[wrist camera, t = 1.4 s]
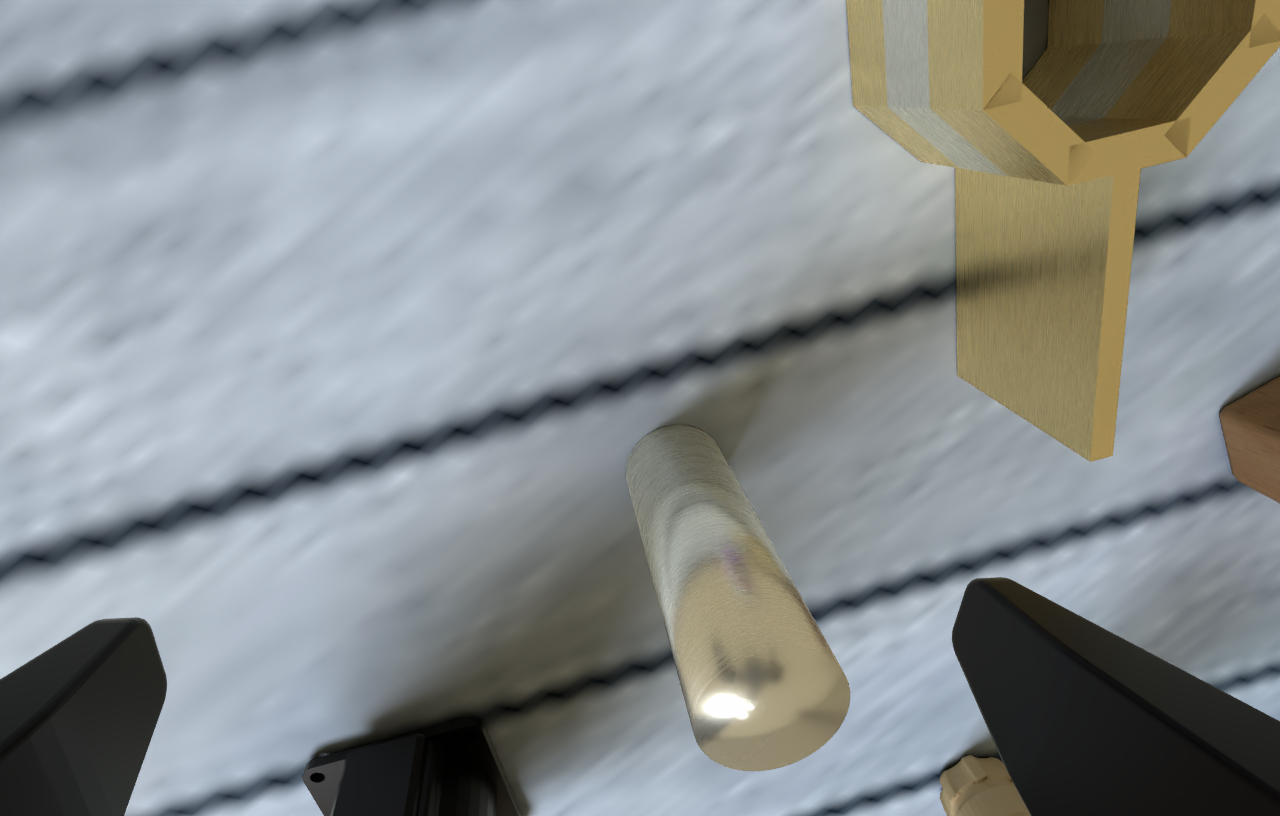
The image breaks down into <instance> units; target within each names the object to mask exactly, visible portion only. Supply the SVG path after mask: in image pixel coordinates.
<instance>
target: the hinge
mask: <svg viewBox="0 0 1280 816" xmlns="http://www.w3.org/2000/svg"><path fill="white" fill-rule="evenodd" d="M846 6H847V21H848V36H849V50H850V65H851V80H852V95H853V106H854V107H855V108H856V109H857V110H859V111H860V112H861V113H862V114H864V115H865V116H866V117H867V118H868V119H870V120H871V121H872V122H873V123H874V124H876V125H877V126H878V127H879V128H881V129H882V130H883V131H884V132H885V133H887V134H888V135H889V136H890V137H891V138H893V139H894V140H895V141H896V142H898V143H899V144H900V145H901V146H902V147H904V148H905V149H906V150H907V151H908V152H910V153H911V154H912V155H913V156H915V157H916V158H917V159H918V160H919V161H921V162H925V163H931V164H937V165H943V166H949V167H955V203H956V300H957V376H958V377H960V378H962V379H963V380H965V381H966V382H968V383H969V384H971V385H972V386H974V387H975V388H977V389H979V390H980V391H982V392H983V393H985V394H986V395H988V396H989V397H991V398H992V399H994V400H996V401H997V402H999V403H1000V404H1002V405H1003V406H1005V407H1006V408H1008V409H1009V410H1011V411H1013V412H1014V413H1016V414H1017V415H1019V416H1020V417H1022V418H1023V419H1025V420H1027V421H1028V422H1030V423H1031V424H1033V425H1034V426H1036V427H1037V428H1039V429H1040V430H1042V431H1044V432H1045V433H1047V434H1048V435H1050V436H1051V437H1053V438H1054V439H1056V440H1057V441H1059V442H1061V443H1062V444H1064V445H1065V446H1067V447H1068V448H1070V449H1071V450H1073V451H1074V452H1076V453H1078V454H1079V455H1081V456H1082V457H1084V458H1085V459H1087V460H1088V461H1090V462H1091V461H1095V460H1099V459H1102V458H1106V457H1110V456H1113V447H1114V437H1115V427H1116V417H1117V406H1118V396H1119V386H1120V376H1121V365H1122V355H1123V345H1124V335H1125V324H1126V314H1127V304H1128V294H1129V283H1130V273H1131V263H1132V253H1133V242H1134V232H1135V222H1136V211H1137V201H1138V191H1139V181H1140V170H1141V168H1145V167H1149V166H1153V165H1157V164H1162V163H1166V162H1170V161H1174V160H1178V159H1182V158H1186V157H1187V156H1188V155H1189V154H1190V153H1191V151H1192V150H1193V149H1194V148H1195V147H1196V145H1197V144H1198V143H1199V142H1200V141H1201V139H1202V138H1203V137H1204V136H1205V135H1206V134H1207V132H1208V131H1209V130H1210V129H1211V128H1212V126H1213V125H1214V124H1215V123H1216V122H1217V120H1218V119H1219V118H1220V117H1221V116H1222V114H1223V113H1224V112H1225V111H1226V110H1227V109H1228V107H1229V106H1230V105H1231V104H1232V103H1233V101H1234V100H1235V99H1236V98H1237V97H1238V95H1239V94H1240V93H1241V92H1242V91H1243V89H1244V88H1245V87H1246V86H1247V85H1248V83H1249V82H1250V81H1251V80H1252V79H1253V78H1254V76H1255V75H1256V74H1257V73H1258V72H1259V70H1260V69H1261V68H1262V67H1263V66H1264V64H1265V63H1266V62H1267V61H1268V60H1269V58H1270V57H1271V56H1272V55H1273V54H1274V53H1275V51H1276V50H1277V49H1278V48H1279V47H1280V0H1049V23H1048V47H1047V49H1046V51H1045V52H1044V53H1043V55H1042V56H1041V57H1040V59H1039V60H1038V61H1037V63H1036V64H1035V65H1034V67H1033V68H1032V69H1031V71H1030V72H1029V73H1028V75H1027V76H1026V77H1025V79H1024V80H1023V81H1022V64H1023V27H1024V0H846Z"/></svg>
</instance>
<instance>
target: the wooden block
mask: <svg viewBox="0 0 1280 816" xmlns="http://www.w3.org/2000/svg"><path fill="white" fill-rule="evenodd" d="M1219 418H1220V422H1221V427H1222V431H1223V435H1224V439H1225V444H1226V448H1227V452H1228V457H1229V461H1230V465H1231V470H1232V474H1233V475H1234V476H1235V478H1236V479H1237V480H1238V481H1240V482H1241V483H1243V484H1245V485H1247V486H1249V487H1251V488H1252V489H1254V490H1256V491H1258V492H1260V493H1262V494H1264V495H1265V496H1267V497H1269V498H1271V499H1273V500H1275V501H1277V502H1278V503H1280V376H1279V377H1277V378H1275V379H1273V380H1272V381H1270V382H1268V383H1266V384H1265V385H1263V386H1261V387H1259V388H1258V389H1256V390H1254V391H1252V392H1251V393H1249V394H1247V395H1245V396H1244V397H1242V398H1240V399H1238V400H1237V401H1235V402H1233V403H1231V404H1229V405H1228V406H1226V407H1224V408H1223V410H1222V411H1221V412H1220V415H1219Z"/></svg>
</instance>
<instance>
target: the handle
mask: <svg viewBox="0 0 1280 816" xmlns="http://www.w3.org/2000/svg"><path fill="white" fill-rule="evenodd" d="M940 783H941V785H942V787H943V789H942V792H941V793H940V800H941V802H942V805H943V808H944V810H945V812H946V814H947V816H1031V815H1030V813H1029V811H1028V809H1027V808H1026V806H1025V804H1024V802H1023V800H1022V799H1021V797H1020V795H1019V793H1018V791H1017V789H1016V787H1015V785H1014V783H1013V781H1012V780H1011V778H1010V776H1009V774H1008V772H1007V769H1006V767H1005V765H1004V764H1003V763H1002V762H1001V761H1000V760H999V759H996V758H993V757H989V758H976V757H973V756H972V755H969V756H965V757H963V758H962V759H961V761H960V762H959V763H958V764H956V765H955V766H954V767H952V768H951V769H949V770H945V771H944V772H943V773H942V774H941V776H940Z"/></svg>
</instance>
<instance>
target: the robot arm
mask: <svg viewBox="0 0 1280 816" xmlns="http://www.w3.org/2000/svg"><path fill="white" fill-rule="evenodd" d="M952 642H953V647H954V651H955V654H956V656H957V659H958V661H959V663H960V665H961V668H962V670H963V672H964V675H965V677H966V679H967V681H968V684H969V686H970V688H971V691H972V693H973V695H974V697H975V700H976V702H977V704H978V707H979V709H980V711H981V714H982V716H983V718H984V720H985V723H986V725H987V727H988V730H989V732H990V734H991V736H992V739H993V741H994V743H995V746H996V748H997V750H998V752H999V755H1000V757H1001V759H1002V761H1003V763H1004V765H1005V767H1006V769H1007V772H1008V774H1009V776H1010V778H1011V780H1012V781H1013V783H1014V785H1015V787H1016V789H1017V791H1018V793H1019V795H1020V797H1021V799H1022V800H1023V802H1024V804H1025V806H1026V808H1027V809H1028V811H1029V813H1030V815H1031V816H1280V721H1278V720H1276V719H1274V718H1272V717H1270V716H1269V715H1267V714H1265V713H1263V712H1261V711H1259V710H1257V709H1255V708H1253V707H1251V706H1250V705H1248V704H1246V703H1244V702H1242V701H1240V700H1238V699H1236V698H1234V697H1233V696H1231V695H1229V694H1227V693H1225V692H1223V691H1221V690H1219V689H1217V688H1215V687H1214V686H1212V685H1210V684H1208V683H1206V682H1204V681H1202V680H1200V679H1198V678H1196V677H1195V676H1193V675H1191V674H1189V673H1187V672H1185V671H1183V670H1181V669H1179V668H1178V667H1176V666H1174V665H1172V664H1170V663H1168V662H1166V661H1164V660H1162V659H1160V658H1159V657H1157V656H1155V655H1153V654H1151V653H1149V652H1147V651H1145V650H1143V649H1142V648H1140V647H1138V646H1136V645H1134V644H1132V643H1130V642H1128V641H1126V640H1124V639H1123V638H1121V637H1119V636H1117V635H1115V634H1113V633H1111V632H1109V631H1107V630H1106V629H1104V628H1102V627H1100V626H1098V625H1096V624H1094V623H1092V622H1090V621H1088V620H1087V619H1085V618H1083V617H1081V616H1079V615H1077V614H1075V613H1073V612H1071V611H1069V610H1068V609H1066V608H1064V607H1062V606H1060V605H1058V604H1056V603H1054V602H1052V601H1051V600H1049V599H1047V598H1045V597H1043V596H1041V595H1039V594H1037V593H1035V592H1033V591H1032V590H1030V589H1028V588H1026V587H1024V586H1022V585H1020V584H1018V583H1016V582H1015V581H1013V580H1010V579H1008V578H1002V577H997V578H978V579H975V580H972V581H971V582H970V583H969V584H968V585H967V588H966V590H965V593H964V596H963V599H962V602H961V605H960V609H959V612H958V615H957V618H956V621H955V624H954V627H953V631H952ZM166 690H167V679H166V674H165V671H164V667H163V664H162V661H161V658H160V655H159V651H158V648H157V645H156V642H155V638H154V635H153V632H152V629H151V627H150V625H149V624H148V623H147V621H145V620H144V619H141V618H116V619H103V620H98V621H95V622H93V623H91V624H89V625H87V626H86V627H84V628H83V629H81V630H79V631H78V632H76V633H75V634H73V635H71V636H70V637H68V638H66V639H65V640H63V641H62V642H60V643H58V644H57V645H55V646H54V647H52V648H50V649H49V650H47V651H46V652H44V653H42V654H41V655H39V656H37V657H36V658H34V659H33V660H31V661H29V662H28V663H26V664H25V665H23V666H21V667H20V668H18V669H16V670H15V671H13V672H12V673H10V674H8V675H7V676H5V677H4V678H2V679H0V816H124V814H125V811H126V808H127V805H128V803H129V800H130V797H131V794H132V791H133V789H134V786H135V783H136V780H137V777H138V774H139V772H140V769H141V766H142V763H143V760H144V758H145V755H146V752H147V749H148V746H149V743H150V741H151V738H152V735H153V732H154V729H155V727H156V724H157V721H158V718H159V715H160V712H161V710H162V707H163V704H164V701H165V696H166ZM467 731H473V732H470V733H469V732H467ZM318 772H319V773H318ZM302 778H303V781H304V783H305V785H306V786H307V788H308V790H309V791H310V793H311V795H312V796H313V798H314V800H315V801H316V803H317V805H318V806H319V808H320V810H321V811H322V813H323V815H324V816H522V813H521V811H520V809H519V806H518V804H517V802H516V799H515V797H514V794H513V792H512V790H511V787H510V785H509V782H508V780H507V778H506V775H505V773H504V771H503V768H502V766H501V763H500V761H499V759H498V756H497V754H496V751H495V749H494V747H493V744H492V742H491V740H490V737H489V735H488V732H487V730H486V728H485V725H484V723H483V722H482V721H481V720H480V719H478V718H474V717H468V718H463V719H460V720H456V721H452V722H449V723H445V724H441V725H437V726H434V727H430V728H426V729H423V730H419V731H415V732H412V733H408V734H404V735H400V736H397V737H393V738H389V739H386V740H382V741H378V742H375V743H371V744H367V745H363V746H360V747H356V748H352V749H349V750H345V751H341V752H338V753H334V754H330V755H326V756H323V757H319V758H315V759H313V760H311V761H309V762H308V763H307V765H306V768H305V771H304V774H303V777H302Z"/></svg>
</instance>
